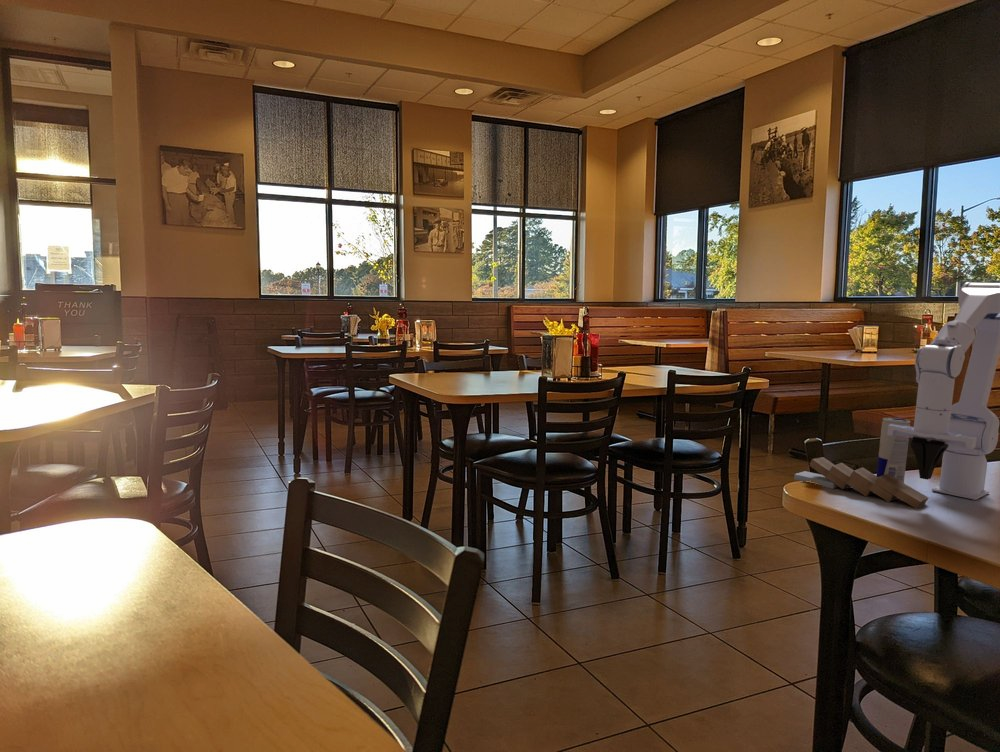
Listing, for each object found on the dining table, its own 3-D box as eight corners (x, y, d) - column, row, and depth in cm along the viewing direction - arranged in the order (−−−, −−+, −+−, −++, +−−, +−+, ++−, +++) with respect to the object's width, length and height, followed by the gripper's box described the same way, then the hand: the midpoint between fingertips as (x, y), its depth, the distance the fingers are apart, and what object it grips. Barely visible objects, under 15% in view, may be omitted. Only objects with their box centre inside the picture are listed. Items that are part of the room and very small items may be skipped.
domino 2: (853, 486, 145) (819, 463, 151) (857, 480, 145) (823, 457, 150) (842, 489, 142) (808, 465, 148) (846, 483, 142) (812, 459, 147)
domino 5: (924, 504, 135) (883, 480, 141) (928, 497, 135) (887, 473, 140) (916, 508, 132) (874, 483, 137) (920, 501, 131) (878, 477, 137)
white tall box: (895, 486, 148) (903, 417, 146) (907, 493, 143) (915, 421, 141) (871, 484, 148) (878, 416, 146) (881, 491, 143) (889, 420, 141)
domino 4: (897, 498, 139) (858, 473, 144) (901, 491, 138) (862, 467, 143) (888, 502, 136) (849, 477, 141) (893, 495, 135) (853, 470, 140)
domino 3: (875, 492, 142) (838, 468, 147) (879, 486, 141) (841, 462, 146) (866, 496, 139) (828, 472, 144) (870, 490, 138) (832, 465, 143)
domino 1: (842, 487, 147) (804, 478, 153) (843, 479, 147) (805, 471, 153) (832, 490, 144) (793, 481, 150) (833, 483, 144) (794, 474, 150)
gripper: (884, 404, 134) (876, 472, 136) (970, 416, 123) (961, 490, 125) (898, 401, 139) (891, 467, 140) (983, 413, 128) (974, 484, 129)
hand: (925, 478), depth 133 cm, fingers closed
